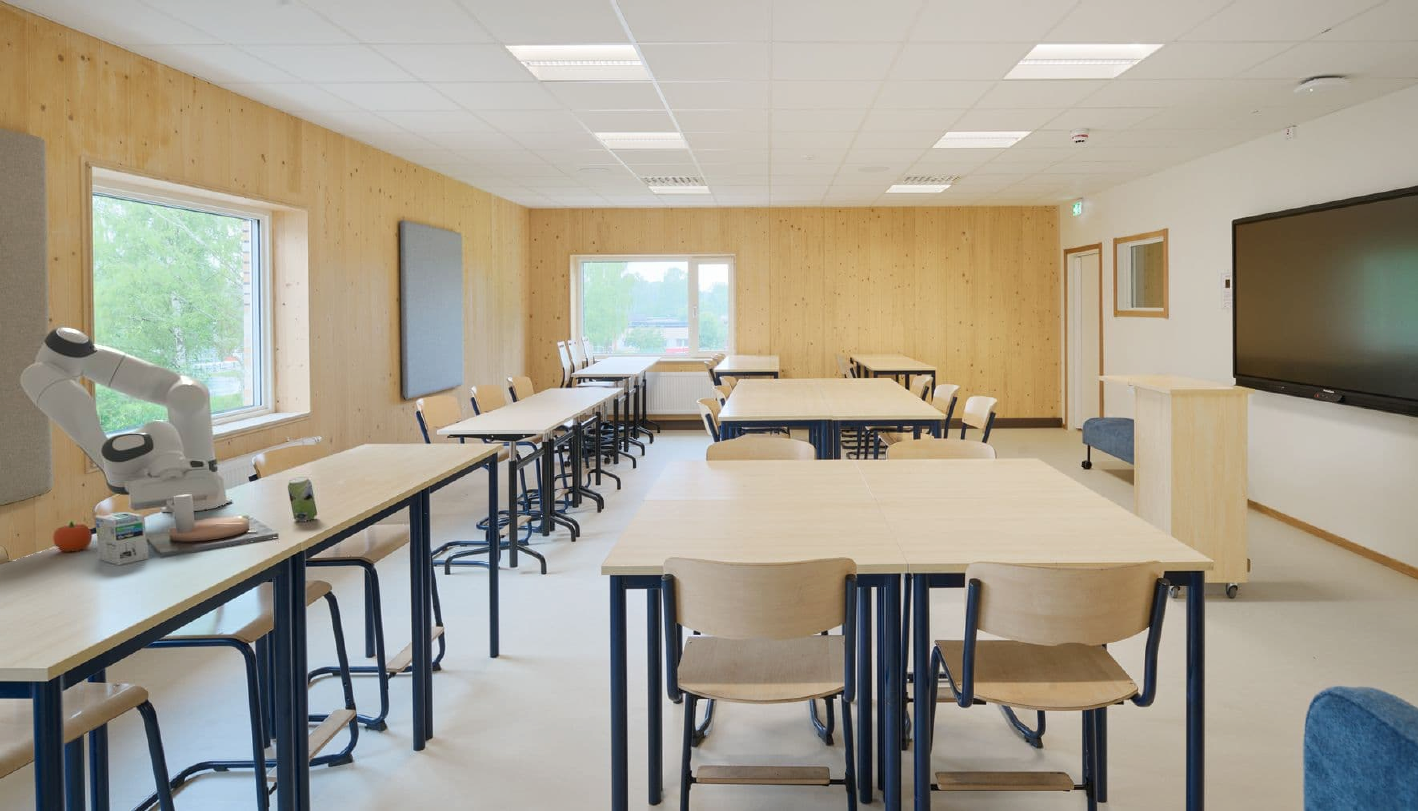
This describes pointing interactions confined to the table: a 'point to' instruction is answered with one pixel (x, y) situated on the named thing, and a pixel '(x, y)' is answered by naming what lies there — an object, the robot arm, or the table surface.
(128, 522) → the light bulb box
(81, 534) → the pumpkin
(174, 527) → the crank handwheel
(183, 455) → the robot arm
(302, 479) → the beverage can
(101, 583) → the table surface
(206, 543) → the base
